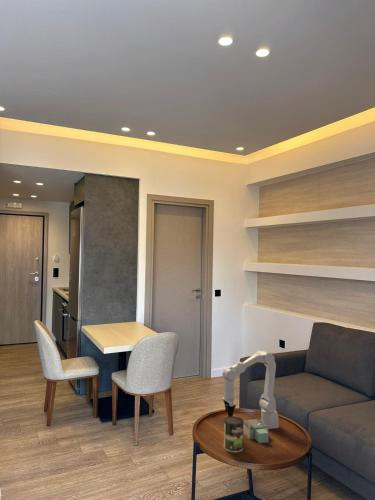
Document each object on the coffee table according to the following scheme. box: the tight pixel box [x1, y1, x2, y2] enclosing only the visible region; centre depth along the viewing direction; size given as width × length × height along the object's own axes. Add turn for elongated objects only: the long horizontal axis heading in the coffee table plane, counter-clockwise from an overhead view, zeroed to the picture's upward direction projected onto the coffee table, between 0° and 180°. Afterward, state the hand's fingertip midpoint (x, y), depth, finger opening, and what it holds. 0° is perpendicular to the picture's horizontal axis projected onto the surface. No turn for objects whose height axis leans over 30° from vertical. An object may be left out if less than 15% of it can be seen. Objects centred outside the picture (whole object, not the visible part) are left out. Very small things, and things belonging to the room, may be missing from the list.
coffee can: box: [223, 416, 244, 453], centre depth 192 cm, size 10×10×14 cm
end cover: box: [254, 428, 269, 444], centre depth 202 cm, size 5×10×5 cm, turn 15°
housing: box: [243, 418, 269, 440], centre depth 208 cm, size 11×10×6 cm
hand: (229, 414), depth 210 cm, fingers open, 7 cm apart
